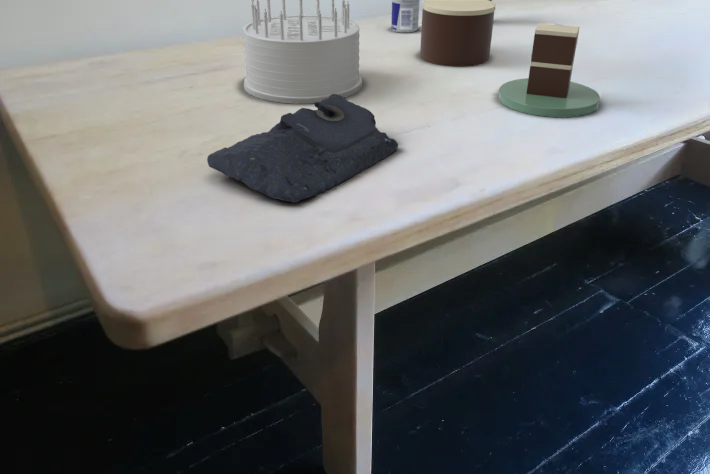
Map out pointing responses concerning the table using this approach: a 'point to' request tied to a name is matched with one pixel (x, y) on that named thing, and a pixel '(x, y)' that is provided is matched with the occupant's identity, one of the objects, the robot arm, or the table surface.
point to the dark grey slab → (307, 151)
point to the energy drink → (405, 15)
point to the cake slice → (552, 60)
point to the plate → (549, 100)
